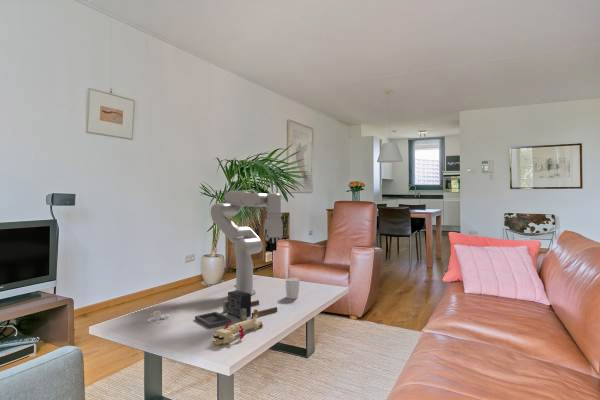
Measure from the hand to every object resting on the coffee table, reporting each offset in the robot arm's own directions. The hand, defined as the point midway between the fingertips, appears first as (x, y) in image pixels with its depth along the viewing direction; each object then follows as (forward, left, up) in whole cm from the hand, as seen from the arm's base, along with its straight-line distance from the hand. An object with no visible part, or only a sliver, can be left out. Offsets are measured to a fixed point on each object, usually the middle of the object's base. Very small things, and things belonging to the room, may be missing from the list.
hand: (273, 250), depth 190 cm
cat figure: (+29, -40, -28) cm, 57 cm away
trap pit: (+8, -40, -27) cm, 49 cm away
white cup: (+2, +12, -27) cm, 30 cm away
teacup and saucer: (-7, -57, -28) cm, 64 cm away
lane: (+8, -20, -27) cm, 35 cm away
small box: (+8, -26, -27) cm, 39 cm away
